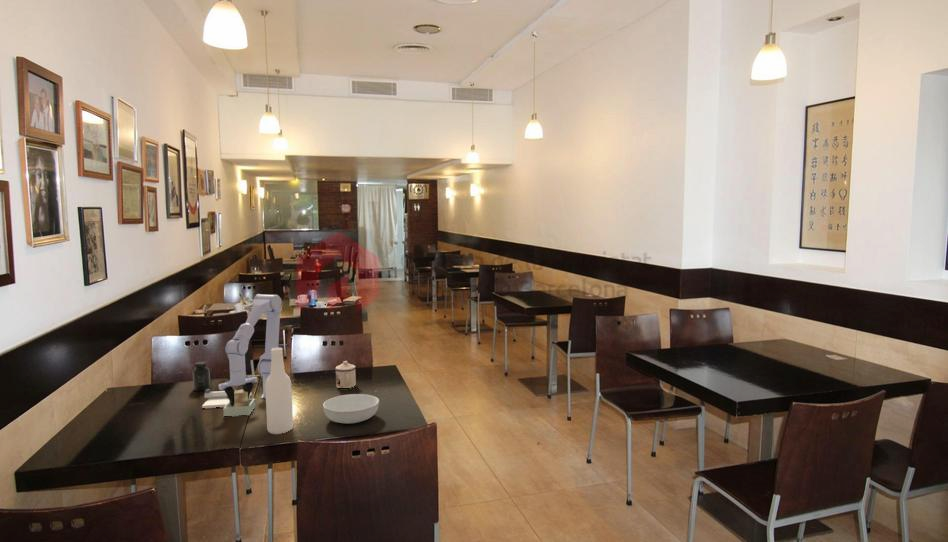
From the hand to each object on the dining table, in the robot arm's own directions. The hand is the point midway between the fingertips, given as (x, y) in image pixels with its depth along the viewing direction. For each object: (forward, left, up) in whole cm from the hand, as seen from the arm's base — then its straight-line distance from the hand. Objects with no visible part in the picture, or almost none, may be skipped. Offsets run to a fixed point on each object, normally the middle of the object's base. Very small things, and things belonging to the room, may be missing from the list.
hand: (239, 403), depth 219 cm
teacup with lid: (-40, -24, -4) cm, 47 cm away
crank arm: (+11, -17, -2) cm, 21 cm away
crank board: (+8, -14, -3) cm, 17 cm away
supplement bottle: (+24, -35, -4) cm, 43 cm away
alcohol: (-19, +23, -4) cm, 30 cm away
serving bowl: (-44, +17, -4) cm, 47 cm away
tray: (0, 0, -3) cm, 3 cm away
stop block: (0, 0, -1) cm, 1 cm away
